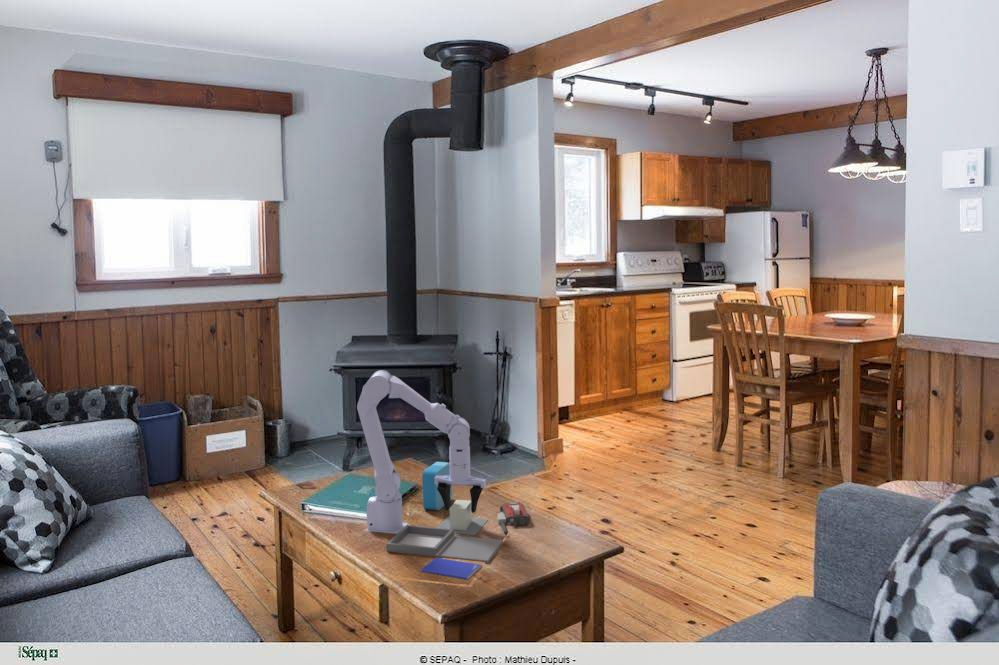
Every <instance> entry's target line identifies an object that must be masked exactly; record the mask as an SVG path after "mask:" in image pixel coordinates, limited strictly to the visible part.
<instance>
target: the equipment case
mask: <svg viewBox="0 0 999 665" xmlns="http://www.w3.org/2000/svg"><path fill="white" fill-rule="evenodd" d="M503 543H504V540H503V539H496V538H486V537H476V536H464V535H463V536H462V535H455V533H454V529H445V528H437V527H432V526H431V527H430V526H424V525H423V526H422V525H410V524H408V525H407V526H405V527H404V528H403V529H402V530H401V531H400V532H399V533H397V534H395V536H393V537H392V538H391V539H389V541H387V542H386V546H385V547H386V552H389V553H390V552H391V553H399V554H409V555H417V556H418V555H419V556H429V557H435V558H446V559H456V560H467V561H477V562H484V564H489V563H490V561H491V559H493V557H494V556H495V554H496V553H497V552H498V550H499V549H500V548H501V546H502V545H503Z"/></svg>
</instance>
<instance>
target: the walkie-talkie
mask: <svg viewBox="0 0 999 665" xmlns="http://www.w3.org/2000/svg"><path fill="white" fill-rule="evenodd" d="M499 511H500V512H499V513H498V514H497V515H496V517H497V518H496V519H497V520H496V521H497V524H498V525H500V526H501V528H502V531H503V533H504V534H505V535H508V530H507V526H506V525H512V526H528V525H529V524H530V517H529V514H528V511H527V509H526V507H525V505H524V504H523V503H521V502H517V501H516V502H505V503H503V504H501V506H500V507H499Z"/></svg>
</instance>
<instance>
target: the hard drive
mask: <svg viewBox="0 0 999 665" xmlns="http://www.w3.org/2000/svg"><path fill="white" fill-rule="evenodd" d="M481 568H482V564H477V563H471V562H466V561H459V560H453V559H448V558H446V559H445V558H442V557H434V558H433V559H432V560H431V561H430V562H428V563H427V564H426V565H425V566H423V568H421V570H420V572H421V573H426V574H432V575H437V576H443V577H450V578H456V579H460V580H468V579H470V578H471V576H473V575H474V574H475V572H477V571H478V570H480V569H481Z"/></svg>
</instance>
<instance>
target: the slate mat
mask: <svg viewBox="0 0 999 665" xmlns="http://www.w3.org/2000/svg"><path fill="white" fill-rule="evenodd" d="M487 522H489V519H488V518H487V519H486V518H477V517H476V518H475V517H472V522H471V524H470V525H469V527H468V528H467V529H466V530H455V529H454V535H455V534H457V535H466V536H468V535H469V536H476V535H477V534H478V533H479V531H481V529H483V527H484V526H485V525H486V523H487ZM436 528H445V529H450V515H448V516H447V517H446V518H445V519H444V520H443V521H442V522H441V523H440V524H439V525H438V526H437V527H436Z"/></svg>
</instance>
